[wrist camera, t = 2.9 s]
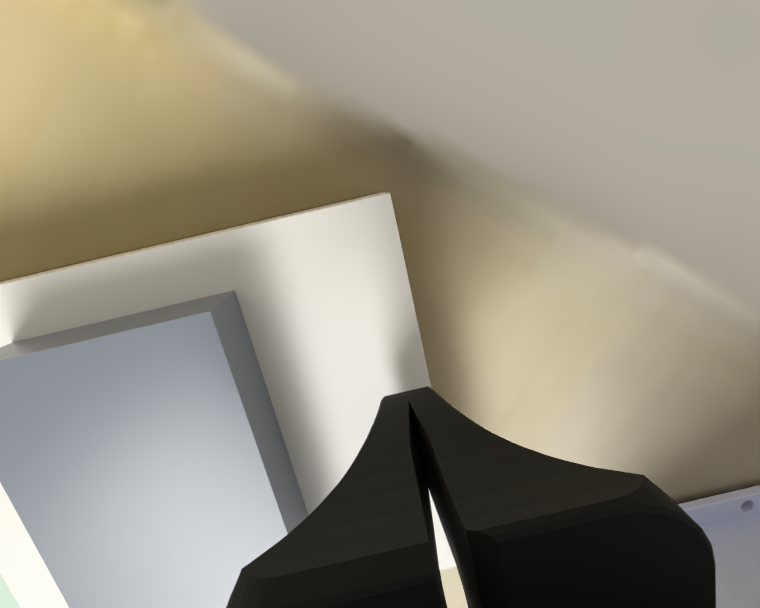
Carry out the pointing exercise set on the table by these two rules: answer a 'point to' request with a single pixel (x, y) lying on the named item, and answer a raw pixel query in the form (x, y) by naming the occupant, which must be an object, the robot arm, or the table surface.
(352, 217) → the white flat block
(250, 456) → the thick grey-blue block
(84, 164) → the table surface
